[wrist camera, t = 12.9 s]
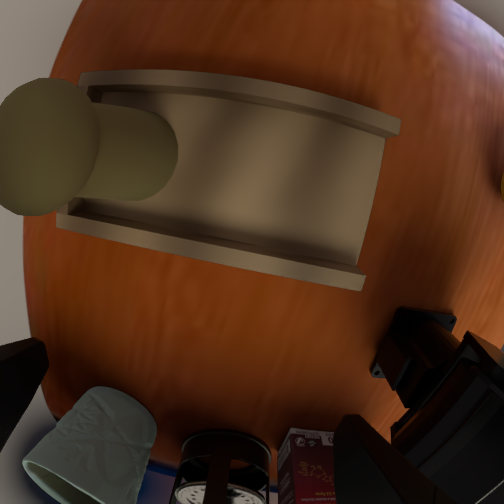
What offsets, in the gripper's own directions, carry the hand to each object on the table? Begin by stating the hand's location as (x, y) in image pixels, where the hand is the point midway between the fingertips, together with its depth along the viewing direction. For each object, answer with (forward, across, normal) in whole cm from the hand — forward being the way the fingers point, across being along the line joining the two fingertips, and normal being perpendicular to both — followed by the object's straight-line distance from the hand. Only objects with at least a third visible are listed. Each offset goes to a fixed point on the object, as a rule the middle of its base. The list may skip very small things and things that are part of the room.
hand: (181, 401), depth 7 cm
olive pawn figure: (+12, +7, -6) cm, 15 cm away
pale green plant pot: (+13, +9, +19) cm, 25 cm away
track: (+13, +2, -6) cm, 14 cm away
